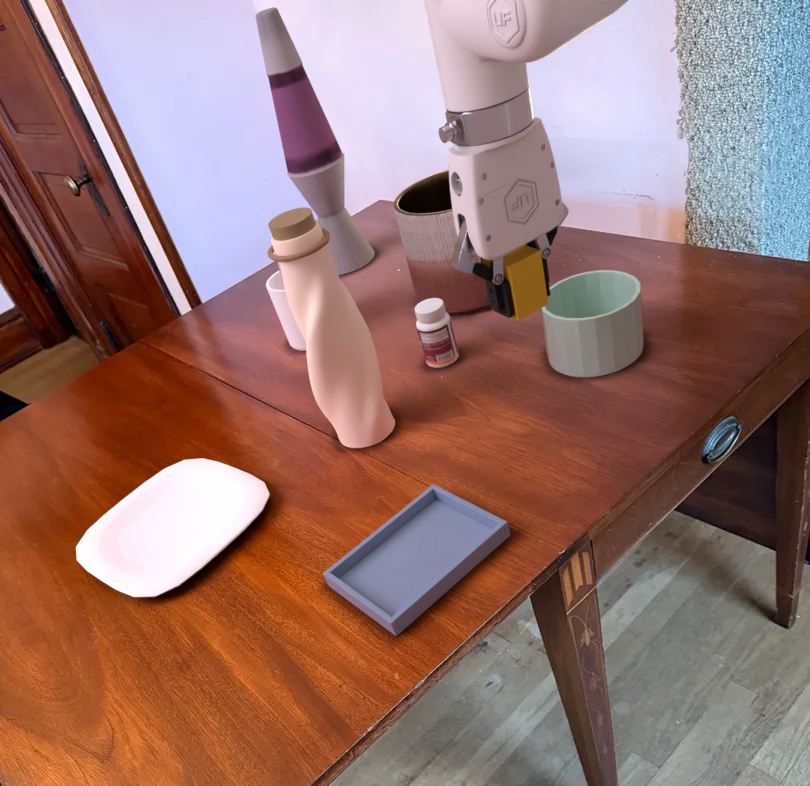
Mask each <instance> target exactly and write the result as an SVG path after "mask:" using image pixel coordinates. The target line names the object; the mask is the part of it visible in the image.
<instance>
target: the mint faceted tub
mask: <svg viewBox="0 0 810 786" xmlns="http://www.w3.org/2000/svg"><path fill="white" fill-rule="evenodd" d="M549 288H550V296H548V297H547V299H548V305H546V306H544V307H543V308H541V309H539V310H540V317H541V324H542V329H543V337H544V344H545V349H546V350H545V352H546V356H547V360H548V363H549V366H550V367H552V369H553V370H554V371H556V372H558V373H560V374H562V375H565V376H568V377H573V378H574V377H575V378H596V377H601V376H606V375H611V374H614V373H616V372H619V371H621V370H623V369H625V368H628V367H629V366H630V365H632V364H633V363H635V362H636V361H637V359H638V358H639V357H640V356H641V354H642V353H643V350H644V325H643V324H644V322H643V301H642V299H643V298H642V284H641V282H640V280H638V277H636V276H635V275H632V274H630V273H628V272H626V271H622V270H621V271H620V270H615V269H612V270H611V269H598V270H590V271H584V272H580V273H576V274H573V275H570V276H567V277H566V278H564V279H561V280H559V281H557V282H555V283H554V284H553V285H551V286H549Z"/></svg>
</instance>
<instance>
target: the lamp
mask: <svg viewBox="0 0 810 786" xmlns="http://www.w3.org/2000/svg"><path fill="white" fill-rule="evenodd" d="M255 22H256V27H257V31H258V37H259V43H260V47H261V53H262V56H263V62H264V68H265V73H266V77H267V78H268V82H269V88H270V92H271V98H272V102H273V107H274V112H275V117H276V122H277V127H278V131H279V137H280V142H281V147H282V150H283V151H282V152H283V156H284V162H285V165H286V166H285V167H286V171H287V176H288V178H289V179H290V181H291V182H292V183H293V185H294V186H295V187H296V189H297V190H298V192H299V193H300V194H301V196H302V197H303V199H304V200H305V201H306V202H307V204H308V206H309V208H310V209H311V210H312V212H314V213H315V215H316V216H317V221H318V223H319V225H320V227H321V228H324V229H326V230H327V231H328V232H329V234H330V240H329V242H328V244H327V246H328V249H329V251H330V254H331V257H332V260H333V262H334V265H335V268H336V270H337V273H338V276H343V275H347V274H351V273H353V272H356V271H358V270H360V269H362V268H364V267H365V266H367V265H368V264H370V263H371V261H372V260H373V259H374V257H375V253H376V252H375V250H374V248H373V247H372V246H371V244H370V243H369V241H368V240H367V239H366V237H365V235H364V234H363V232H362V231H361V229H360V228H359V226H358V225H357V223H356V222H355V220H354V219H353V217H352V216H351V214H350V213H349V211H348V210H347V208H346V207H345V153H343V151H342V149H341V146H340V145H339V144H340V143H339V142H338V140H337V137H336V136H335V134H334V131H333V128H332V127H331V124H330V122H329V120H328V118H327V115H326V114H325V111H324V110H323V109H324V108H323V106H322V105H321V103H320V101H319V98H318V96H317V94H316V91H315V90H314V87H313V85H312V82H311V81H310V78H309V76H308V73H307V72H306V70H305V67H304V65H303V61H302V59H301V57H300V54H299V52H298V50H297V48H296V46H295V43H294V42H293V39H292V37H291V35H290V33H289V31H288V28H287V26H286V23H285V21H284V20H283V17H282V15H281V14H280V10H279V9H278V8H277V7H275V6H274V7H269V8H266V9H263V10H261V11H259V12H257V13H256V14H255ZM324 237H325V236H324Z"/></svg>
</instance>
